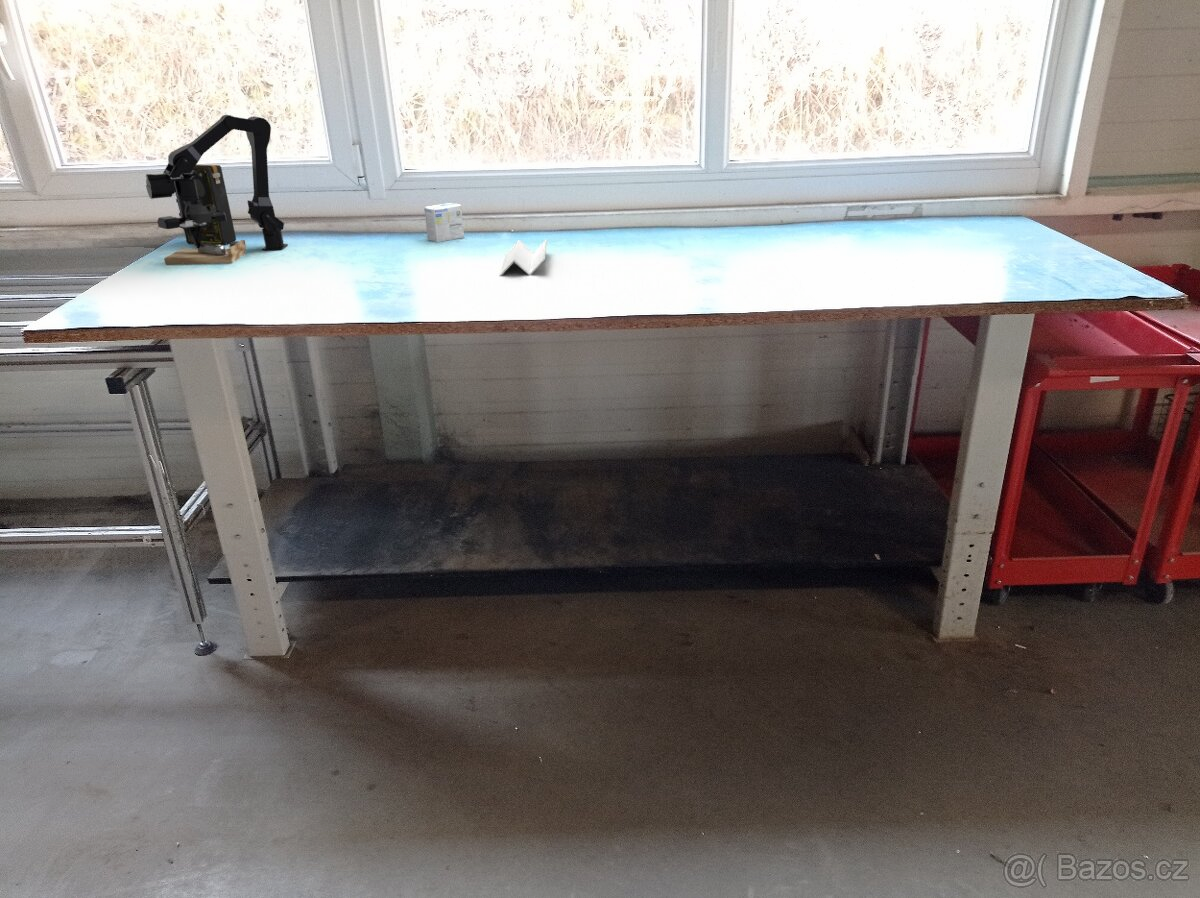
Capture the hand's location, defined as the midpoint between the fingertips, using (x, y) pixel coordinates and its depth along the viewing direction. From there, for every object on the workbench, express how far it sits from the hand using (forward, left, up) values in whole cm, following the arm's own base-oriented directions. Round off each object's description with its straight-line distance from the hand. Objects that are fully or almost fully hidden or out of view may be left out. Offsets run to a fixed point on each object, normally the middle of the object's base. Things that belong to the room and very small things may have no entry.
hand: (198, 248), depth 260 cm
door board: (-1, +1, -4) cm, 4 cm away
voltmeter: (-24, -6, -4) cm, 25 cm away
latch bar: (0, +4, -1) cm, 4 cm away
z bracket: (+15, +101, -4) cm, 102 cm away
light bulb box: (-22, +72, -4) cm, 76 cm away
